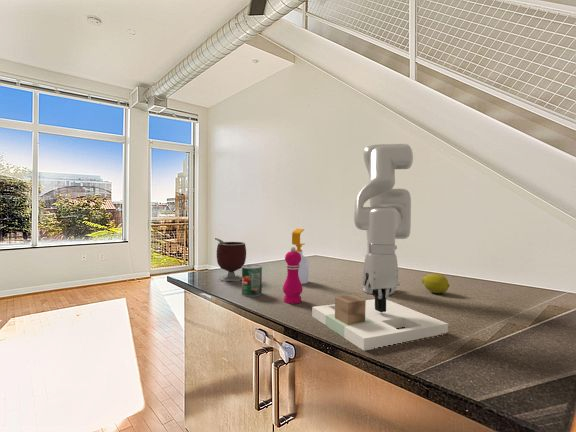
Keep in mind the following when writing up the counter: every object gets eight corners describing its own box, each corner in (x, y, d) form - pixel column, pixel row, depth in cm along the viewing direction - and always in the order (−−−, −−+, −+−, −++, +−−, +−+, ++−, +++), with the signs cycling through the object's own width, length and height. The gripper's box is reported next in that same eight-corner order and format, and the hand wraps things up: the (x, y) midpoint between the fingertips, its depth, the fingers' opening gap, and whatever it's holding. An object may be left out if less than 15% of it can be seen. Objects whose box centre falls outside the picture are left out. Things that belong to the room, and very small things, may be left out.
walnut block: (351, 315, 97) (352, 294, 96) (365, 321, 91) (365, 300, 91) (334, 318, 94) (335, 297, 94) (347, 324, 89) (347, 302, 88)
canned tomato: (265, 293, 132) (265, 265, 131) (253, 297, 125) (254, 268, 125) (249, 290, 136) (250, 263, 135) (237, 294, 129) (237, 266, 129)
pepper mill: (300, 304, 117) (301, 248, 116) (280, 303, 118) (281, 247, 117) (303, 299, 124) (304, 246, 123) (284, 297, 125) (285, 245, 125)
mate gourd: (236, 274, 166) (236, 235, 166) (251, 279, 156) (252, 237, 155) (208, 278, 156) (208, 236, 156) (222, 284, 146) (222, 239, 145)
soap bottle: (311, 281, 153) (312, 228, 152) (301, 285, 145) (302, 230, 145) (295, 279, 158) (295, 228, 157) (284, 282, 150) (285, 229, 149)
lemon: (453, 294, 133) (453, 274, 133) (443, 297, 129) (444, 277, 128) (428, 288, 142) (428, 270, 142) (418, 291, 137) (418, 272, 137)
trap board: (383, 306, 115) (383, 298, 115) (447, 334, 91) (448, 323, 91) (312, 316, 104) (312, 306, 104) (363, 350, 80) (363, 338, 79)
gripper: (392, 247, 104) (391, 304, 105) (353, 249, 98) (352, 309, 99) (410, 250, 97) (408, 311, 98) (368, 252, 91) (367, 318, 92)
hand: (380, 310), depth 98 cm, fingers closed
